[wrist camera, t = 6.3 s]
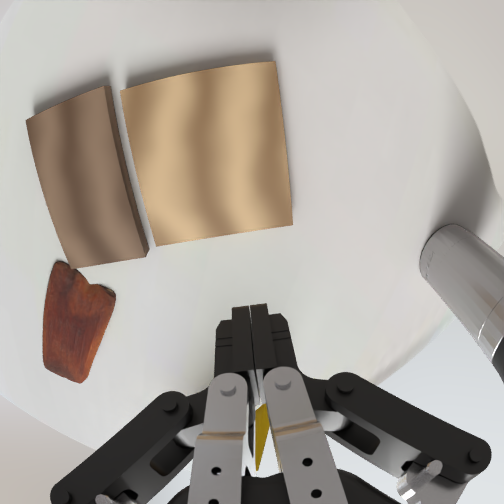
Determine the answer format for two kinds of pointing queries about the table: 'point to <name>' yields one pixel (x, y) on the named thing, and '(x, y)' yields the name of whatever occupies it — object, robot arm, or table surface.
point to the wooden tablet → (74, 322)
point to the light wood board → (210, 152)
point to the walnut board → (87, 180)
